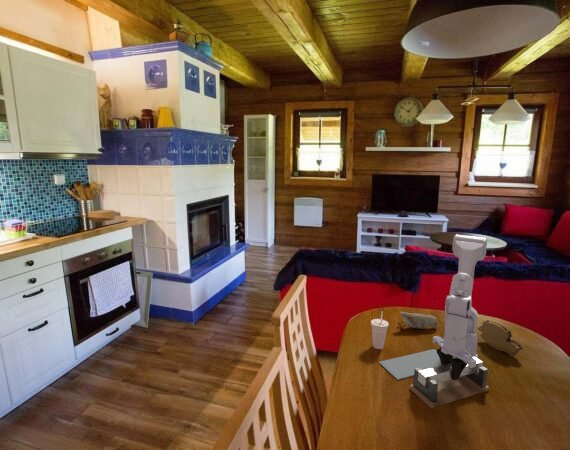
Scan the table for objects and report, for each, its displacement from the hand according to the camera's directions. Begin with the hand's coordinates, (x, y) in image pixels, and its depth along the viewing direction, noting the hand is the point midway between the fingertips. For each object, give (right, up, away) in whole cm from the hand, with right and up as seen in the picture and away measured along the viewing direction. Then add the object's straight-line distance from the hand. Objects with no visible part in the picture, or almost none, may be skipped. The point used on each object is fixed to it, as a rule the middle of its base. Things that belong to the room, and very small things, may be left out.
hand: (450, 375), depth 105 cm
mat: (-5, -2, +14) cm, 15 cm away
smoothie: (-15, 0, +25) cm, 29 cm away
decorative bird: (+5, +2, +38) cm, 39 cm away
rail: (0, 0, 0) cm, 0 cm away
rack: (0, -5, +1) cm, 5 cm away
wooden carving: (+29, -1, +24) cm, 37 cm away
